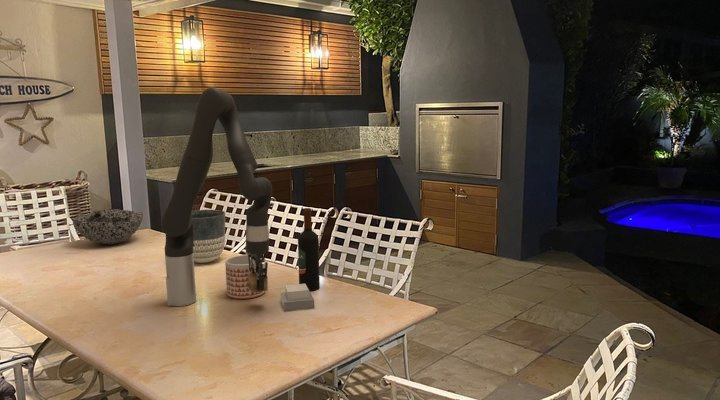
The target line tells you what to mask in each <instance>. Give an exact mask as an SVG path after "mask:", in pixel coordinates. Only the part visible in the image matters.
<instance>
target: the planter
mask: <svg viewBox="0 0 720 400" xmlns="http://www.w3.org/2000/svg"><path fill="white" fill-rule="evenodd" d="M191 215H192V219H193V237H194V243H193V256H194V263H198V264H207V263H211V262H213V261H216V260H217V259H218V258H219V257H220V256H221V254H222V253H223V251H224V248H225V245H226V212H225V211H224V210H220V209H197V210H192V212H191Z"/></svg>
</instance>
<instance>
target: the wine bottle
mask: <svg viewBox="0 0 720 400" xmlns="http://www.w3.org/2000/svg"><path fill="white" fill-rule="evenodd" d="M312 223H313V221H312V208H311V207H306V208H303V230H302V231H301V233H299V235H298V236H297V254H298V255H297V256H298V257H297V258H298V284H306V286H307V288H308V289H309V291H310V292H315V291H317V290H319V289H320V252H319V251H320V250H319V249H320V248H319V247H320V246H319V245H320V240H319V238H320V237H319V236H318V233H316V232H315V231H314V230H313V228H312V227H313V226H312V225H313V224H312Z"/></svg>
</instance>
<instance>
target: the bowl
mask: <svg viewBox="0 0 720 400" xmlns="http://www.w3.org/2000/svg"><path fill="white" fill-rule="evenodd" d="M143 218H144V212H143V211H139V212H138V211H137V212H136V211H133V210H128V209H127V210H126V209H119V208H117V209H113V208H105V209H103V208H102V209H96V210H93V211H92V213H87V214H85V213H81V214H77V215H76V216H75V218H73V220H72V221H73V223H72V224H73V225H74V227H75V229H76V230H77V232H79V234H80V235H81V236H83V237H84V238H85V240H87V241H88V240H89V241H90V242H93V243H96V244H99V245H105V246H106V245H110V246H111V245H117V244H120V243H122V242H124V241H126V240H128V239H130V238H131V237H132V236H133V235H134V234H136V232H137V230H139V228H140V226H141V223H142V222H143Z"/></svg>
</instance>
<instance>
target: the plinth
mask: <svg viewBox="0 0 720 400" xmlns="http://www.w3.org/2000/svg"><path fill="white" fill-rule="evenodd" d="M284 289H285V290H284V292H280V303H281V305H282V308H283V311H284V312H290V311H291V312H292V311H299V310H308V309H315V298H314V297H313V295H312V293H311V291H309V289H308V288H307V286H306V284H299V283H298V284H287V285H285V287H284Z"/></svg>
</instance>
